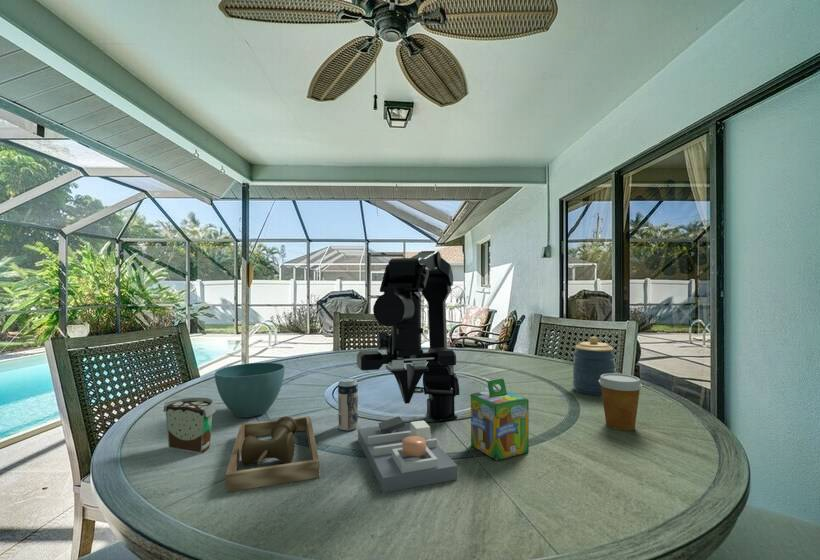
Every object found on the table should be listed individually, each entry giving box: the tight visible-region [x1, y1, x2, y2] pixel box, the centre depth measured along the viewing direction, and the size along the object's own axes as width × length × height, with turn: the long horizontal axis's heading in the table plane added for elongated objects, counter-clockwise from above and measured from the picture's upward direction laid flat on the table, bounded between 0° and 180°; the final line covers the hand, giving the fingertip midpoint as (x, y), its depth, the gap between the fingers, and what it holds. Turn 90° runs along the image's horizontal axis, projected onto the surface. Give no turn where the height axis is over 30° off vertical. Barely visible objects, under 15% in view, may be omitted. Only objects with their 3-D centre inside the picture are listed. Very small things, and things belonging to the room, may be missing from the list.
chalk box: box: [469, 378, 530, 462], centre depth 86 cm, size 9×9×15 cm
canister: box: [572, 336, 617, 397], centre depth 129 cm, size 13×13×18 cm
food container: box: [162, 396, 216, 455], centre depth 89 cm, size 12×6×10 cm, turn 71°
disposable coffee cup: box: [599, 373, 643, 431], centre depth 98 cm, size 10×10×12 cm
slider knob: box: [410, 420, 431, 440], centre depth 83 cm, size 3×4×4 cm
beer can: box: [337, 377, 359, 432], centre depth 99 cm, size 5×5×12 cm
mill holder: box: [225, 415, 320, 493], centre depth 84 cm, size 16×26×3 cm, turn 18°
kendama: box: [240, 416, 298, 466], centre depth 84 cm, size 6×10×20 cm
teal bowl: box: [214, 362, 285, 418], centre depth 111 cm, size 18×18×12 cm
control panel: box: [357, 422, 458, 494], centre depth 82 cm, size 14×24×4 cm, turn 18°
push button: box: [402, 436, 426, 456], centre depth 74 cm, size 4×4×2 cm
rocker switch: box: [378, 415, 405, 434], centre depth 90 cm, size 5×4×1 cm
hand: (406, 403), depth 77 cm, fingers closed
